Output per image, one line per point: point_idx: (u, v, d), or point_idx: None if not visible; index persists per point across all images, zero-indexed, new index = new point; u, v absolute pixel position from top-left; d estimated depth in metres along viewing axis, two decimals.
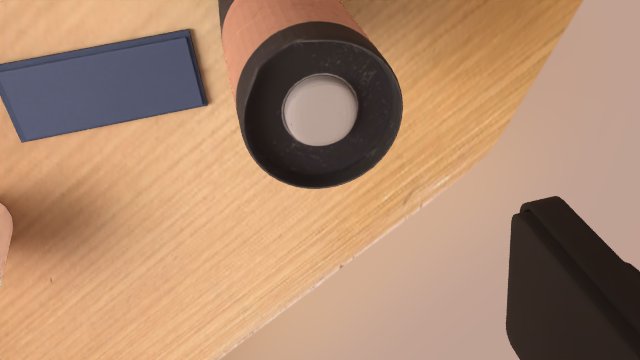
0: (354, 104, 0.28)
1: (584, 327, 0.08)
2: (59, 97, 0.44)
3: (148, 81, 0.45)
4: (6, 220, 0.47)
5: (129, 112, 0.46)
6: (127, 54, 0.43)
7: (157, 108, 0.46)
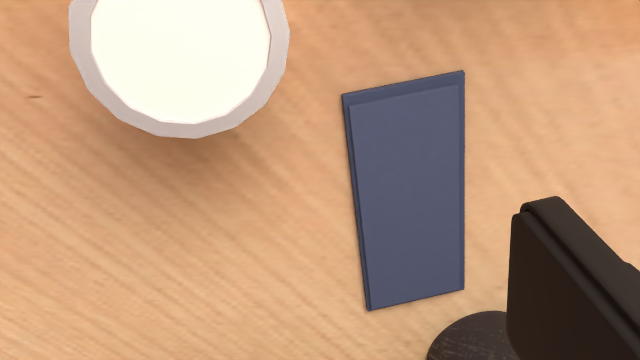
0: None
1: (584, 327, 0.08)
2: (409, 157, 0.31)
3: (413, 255, 0.34)
4: None
5: (374, 234, 0.33)
6: (451, 234, 0.34)
7: (375, 264, 0.34)
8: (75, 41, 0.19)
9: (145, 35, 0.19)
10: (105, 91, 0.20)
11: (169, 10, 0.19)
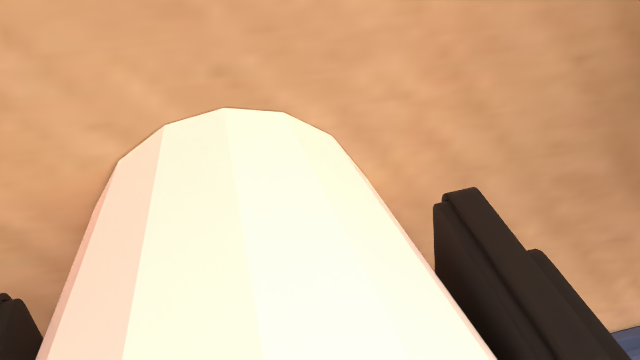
0: None
1: (486, 309, 0.09)
2: None
3: None
4: None
5: None
6: None
7: None
8: None
9: None
10: None
11: None
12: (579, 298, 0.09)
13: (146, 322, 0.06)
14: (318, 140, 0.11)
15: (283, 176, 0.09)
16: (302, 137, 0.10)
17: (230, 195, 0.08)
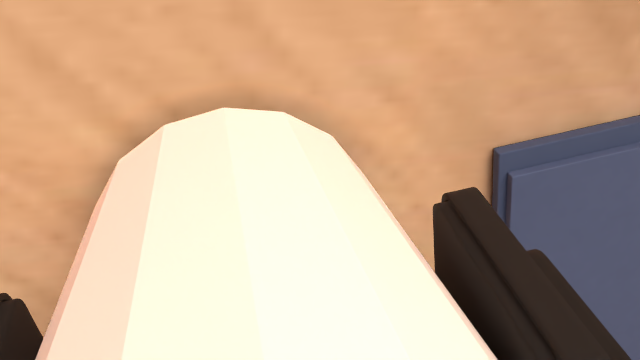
0: None
1: (486, 309, 0.09)
2: (611, 266, 0.15)
3: None
4: None
5: None
6: None
7: None
8: None
9: None
10: None
11: None
12: (579, 298, 0.09)
13: (146, 321, 0.06)
14: (318, 140, 0.11)
15: (283, 176, 0.09)
16: (302, 137, 0.10)
17: (230, 195, 0.08)
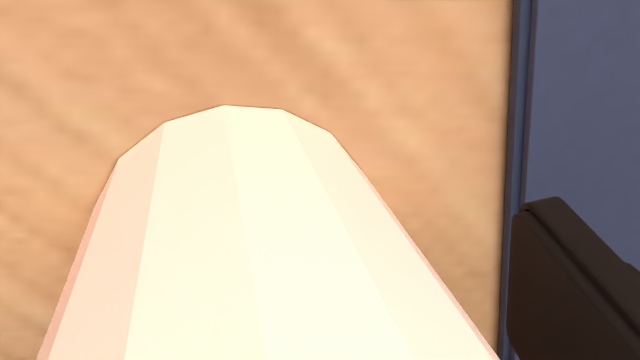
0: None
1: (584, 327, 0.08)
2: None
3: None
4: None
5: None
6: None
7: None
8: None
9: None
10: None
11: None
12: None
13: (149, 314, 0.06)
14: (317, 137, 0.11)
15: (282, 171, 0.09)
16: (301, 134, 0.11)
17: (230, 190, 0.08)
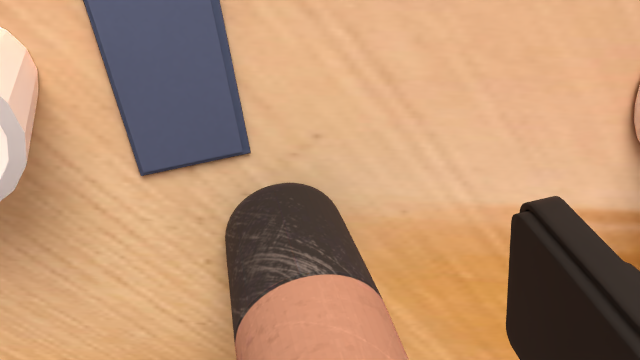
0: None
1: (584, 327, 0.08)
2: None
3: (178, 105, 0.31)
4: None
5: (124, 76, 0.30)
6: (219, 80, 0.31)
7: (134, 115, 0.31)
8: None
9: None
10: None
11: None
12: None
13: None
14: None
15: None
16: None
17: None
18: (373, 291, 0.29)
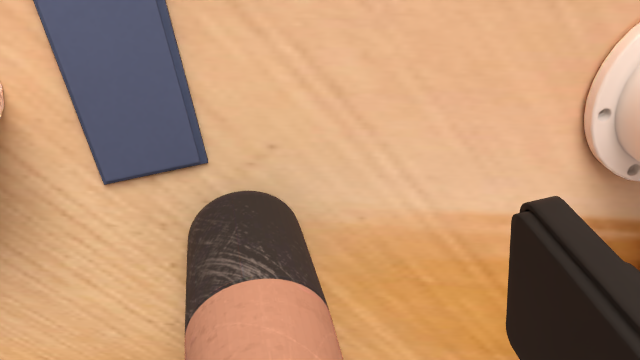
0: None
1: (584, 327, 0.08)
2: (99, 1, 0.29)
3: (135, 118, 0.33)
4: None
5: (83, 92, 0.32)
6: (173, 95, 0.33)
7: (94, 128, 0.33)
8: None
9: None
10: None
11: None
12: None
13: None
14: None
15: None
16: None
17: None
18: (314, 294, 0.31)
